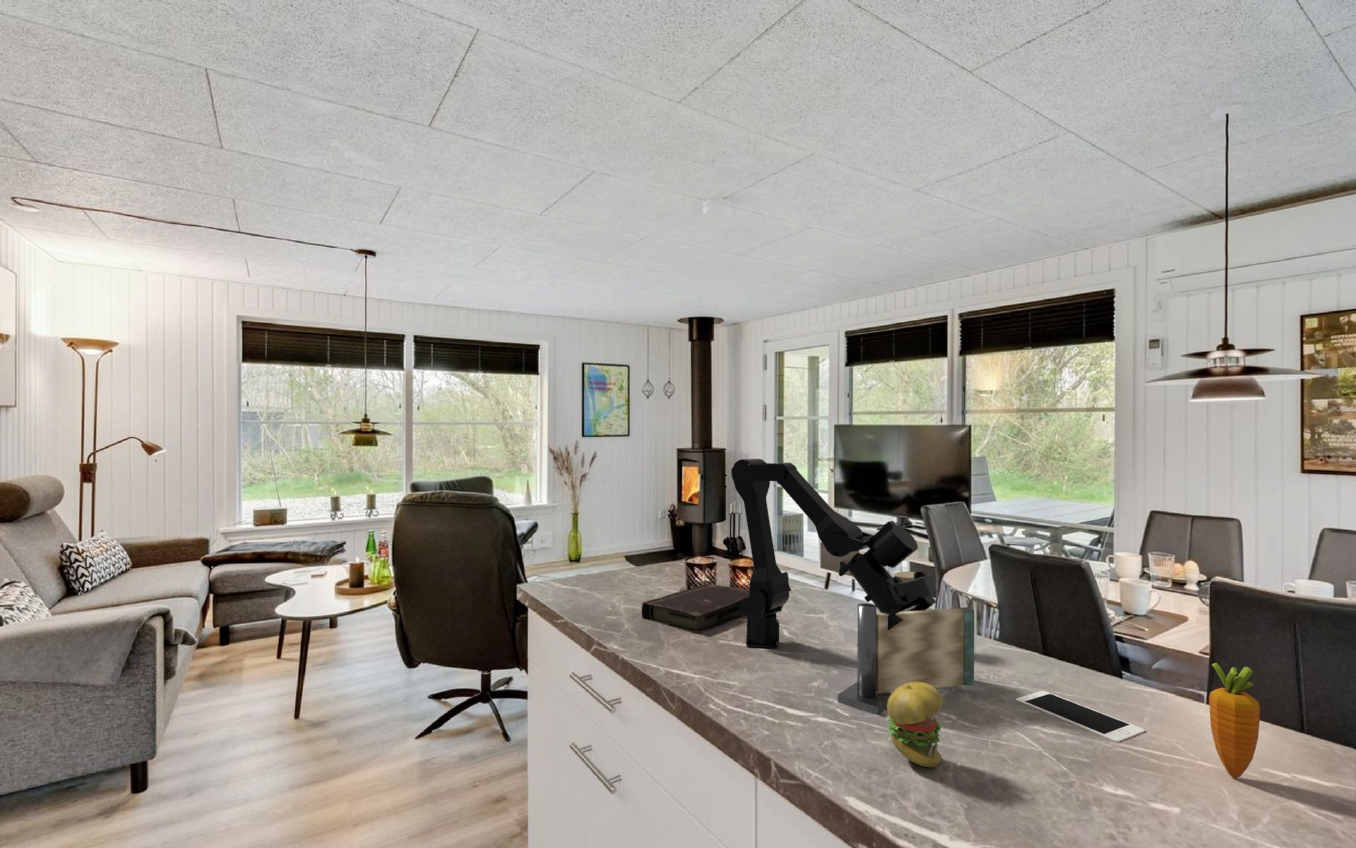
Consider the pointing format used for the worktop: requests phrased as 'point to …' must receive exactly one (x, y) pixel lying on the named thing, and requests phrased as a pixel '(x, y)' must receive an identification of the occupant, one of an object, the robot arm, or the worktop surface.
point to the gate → (925, 649)
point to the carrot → (1234, 720)
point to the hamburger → (915, 722)
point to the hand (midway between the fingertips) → (935, 657)
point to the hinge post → (865, 667)
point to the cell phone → (1081, 716)
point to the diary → (697, 607)
